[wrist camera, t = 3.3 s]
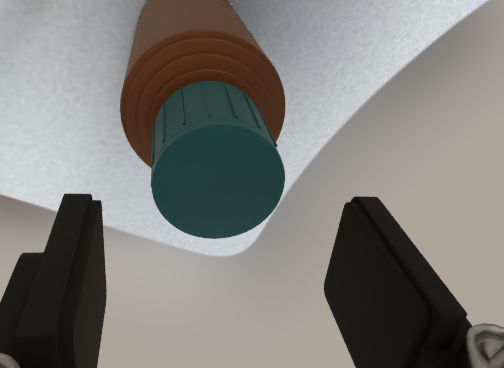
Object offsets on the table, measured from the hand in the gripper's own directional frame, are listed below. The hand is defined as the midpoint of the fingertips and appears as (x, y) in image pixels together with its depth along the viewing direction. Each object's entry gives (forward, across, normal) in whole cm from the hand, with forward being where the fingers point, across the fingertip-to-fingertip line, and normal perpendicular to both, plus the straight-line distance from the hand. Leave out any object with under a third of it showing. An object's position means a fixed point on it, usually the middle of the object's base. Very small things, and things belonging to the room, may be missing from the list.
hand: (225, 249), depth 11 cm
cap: (+6, 0, 0) cm, 6 cm away
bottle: (+21, 0, 0) cm, 21 cm away
